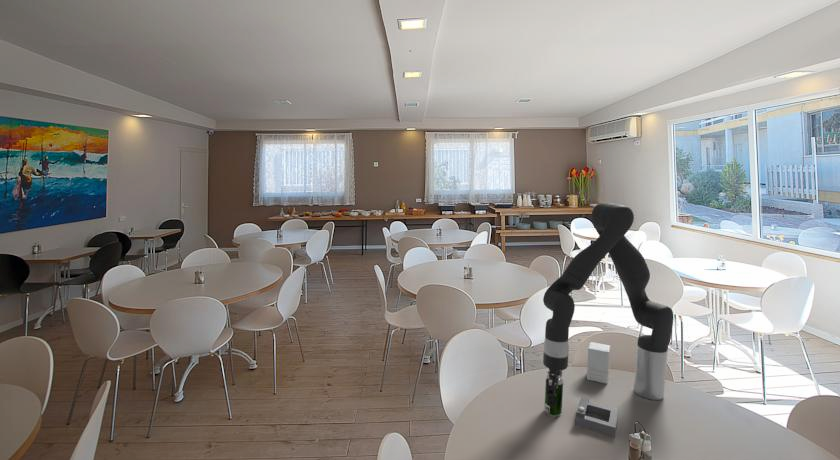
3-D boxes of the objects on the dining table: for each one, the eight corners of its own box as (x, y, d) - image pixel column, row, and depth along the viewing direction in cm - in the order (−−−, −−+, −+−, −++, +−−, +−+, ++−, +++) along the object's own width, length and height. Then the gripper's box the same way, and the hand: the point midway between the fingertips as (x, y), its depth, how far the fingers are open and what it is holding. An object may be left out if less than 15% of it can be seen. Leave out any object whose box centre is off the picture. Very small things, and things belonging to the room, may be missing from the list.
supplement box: (609, 376, 152) (611, 345, 150) (607, 384, 145) (609, 352, 144) (588, 371, 155) (590, 341, 154) (586, 379, 149) (587, 347, 148)
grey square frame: (580, 408, 130) (581, 393, 129) (617, 418, 124) (618, 403, 124) (575, 425, 120) (576, 410, 120) (615, 437, 115) (616, 421, 114)
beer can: (554, 419, 123) (556, 383, 122) (540, 411, 128) (542, 376, 126) (565, 413, 126) (566, 379, 125) (551, 406, 131) (553, 372, 129)
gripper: (563, 363, 117) (561, 416, 119) (572, 346, 129) (569, 394, 131) (538, 357, 120) (536, 408, 122) (548, 341, 133) (546, 388, 135)
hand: (553, 401), depth 127 cm, fingers closed on beer can, 5 cm apart
